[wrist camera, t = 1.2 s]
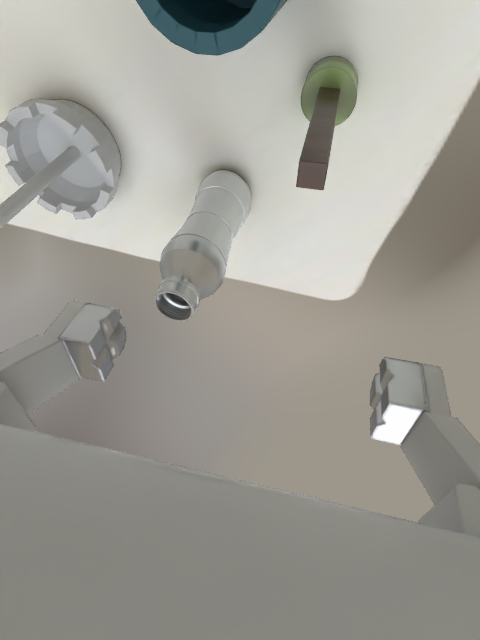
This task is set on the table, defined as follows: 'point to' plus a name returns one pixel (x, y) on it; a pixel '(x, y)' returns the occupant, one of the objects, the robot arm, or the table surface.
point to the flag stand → (59, 158)
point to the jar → (210, 22)
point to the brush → (324, 115)
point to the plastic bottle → (202, 245)
